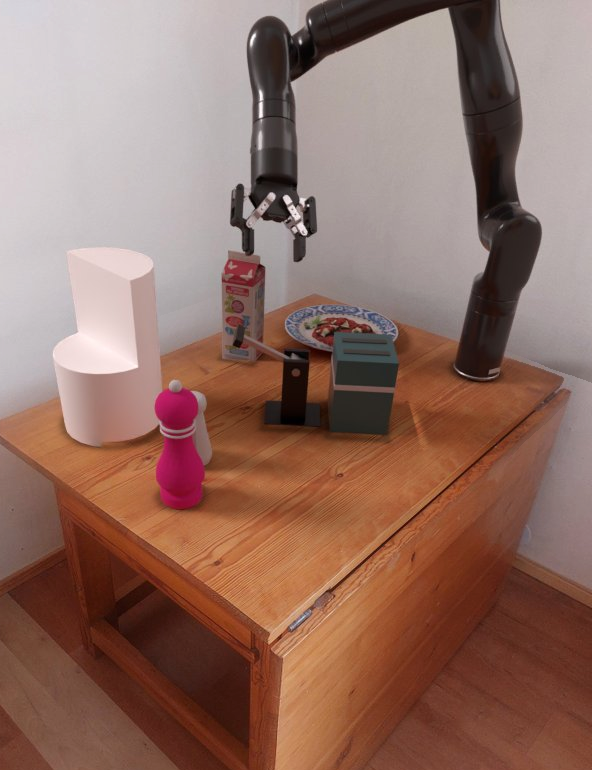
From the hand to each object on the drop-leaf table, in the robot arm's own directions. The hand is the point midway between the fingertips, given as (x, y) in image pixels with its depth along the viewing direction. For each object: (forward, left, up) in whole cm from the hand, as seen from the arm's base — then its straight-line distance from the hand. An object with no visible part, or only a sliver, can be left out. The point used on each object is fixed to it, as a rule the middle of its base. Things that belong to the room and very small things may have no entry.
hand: (274, 257), depth 102 cm
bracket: (+1, +5, -28) cm, 29 cm away
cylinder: (+15, -23, -29) cm, 40 cm away
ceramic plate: (-37, +3, -29) cm, 47 cm away
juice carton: (-18, -13, -29) cm, 36 cm away
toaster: (-3, +16, -28) cm, 33 cm away
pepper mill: (+29, -2, -29) cm, 41 cm away
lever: (+3, 0, -16) cm, 17 cm away
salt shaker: (+21, -4, -29) cm, 36 cm away
